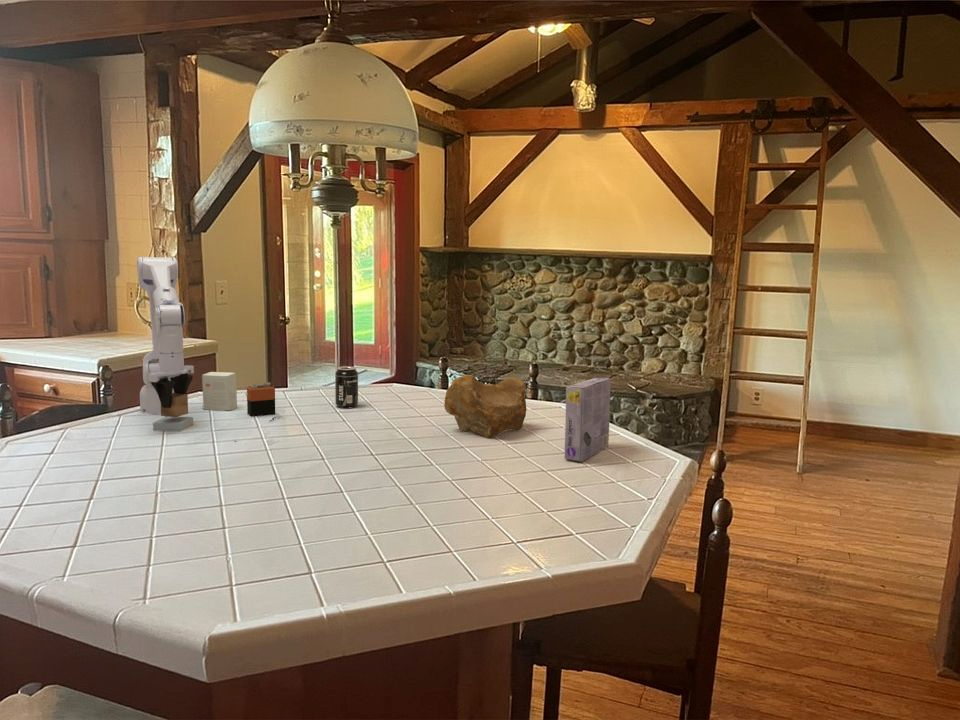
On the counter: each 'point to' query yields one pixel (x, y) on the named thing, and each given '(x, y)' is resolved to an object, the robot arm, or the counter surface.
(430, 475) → the counter surface
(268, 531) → the counter surface
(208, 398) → the small box
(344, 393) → the beverage can
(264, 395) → the battery
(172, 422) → the gray slab
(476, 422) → the rough brown rock
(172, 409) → the walnut block
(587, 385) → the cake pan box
